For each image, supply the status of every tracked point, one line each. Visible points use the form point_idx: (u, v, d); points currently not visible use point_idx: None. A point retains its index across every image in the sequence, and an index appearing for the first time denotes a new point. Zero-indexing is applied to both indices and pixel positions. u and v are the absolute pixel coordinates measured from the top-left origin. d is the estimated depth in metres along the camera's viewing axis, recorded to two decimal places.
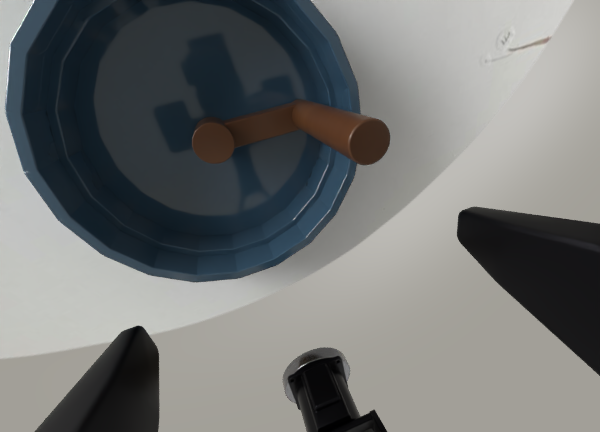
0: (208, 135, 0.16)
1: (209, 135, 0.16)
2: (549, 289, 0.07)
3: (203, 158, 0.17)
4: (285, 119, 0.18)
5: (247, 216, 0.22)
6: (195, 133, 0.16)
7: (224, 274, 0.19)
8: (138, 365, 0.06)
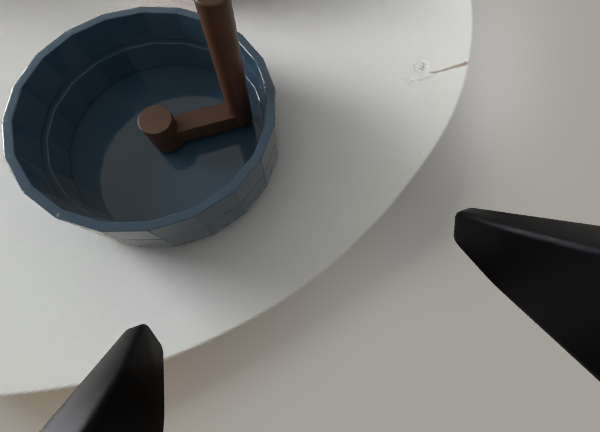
0: (151, 113, 0.21)
1: (152, 113, 0.21)
2: (545, 291, 0.07)
3: (144, 129, 0.20)
4: (221, 110, 0.22)
5: None
6: (141, 112, 0.21)
7: (132, 223, 0.17)
8: (143, 363, 0.06)
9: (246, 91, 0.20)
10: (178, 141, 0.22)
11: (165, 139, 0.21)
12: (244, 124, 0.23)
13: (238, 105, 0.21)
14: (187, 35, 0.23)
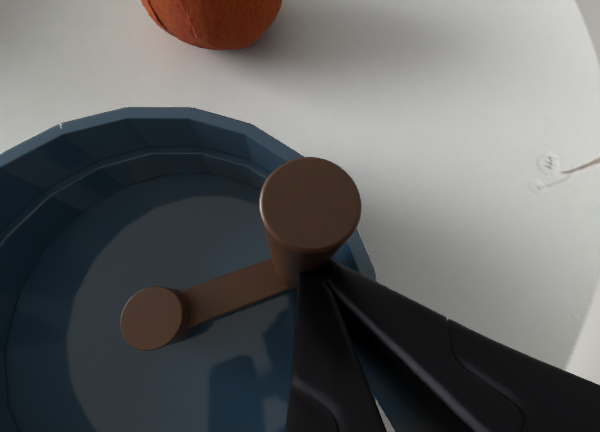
0: (145, 305, 0.11)
1: (146, 305, 0.11)
2: None
3: (132, 342, 0.11)
4: (265, 276, 0.13)
5: None
6: (127, 304, 0.11)
7: None
8: None
9: None
10: (192, 329, 0.13)
11: (170, 344, 0.12)
12: None
13: None
14: (205, 142, 0.14)
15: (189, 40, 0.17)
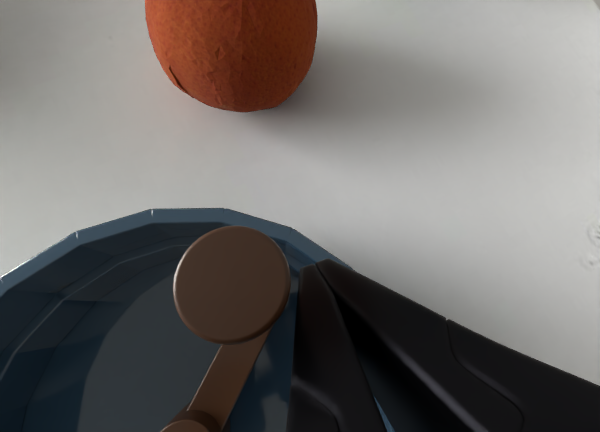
0: None
1: None
2: None
3: None
4: None
5: None
6: None
7: None
8: None
9: None
10: (227, 426, 0.12)
11: None
12: None
13: None
14: None
15: (212, 104, 0.15)
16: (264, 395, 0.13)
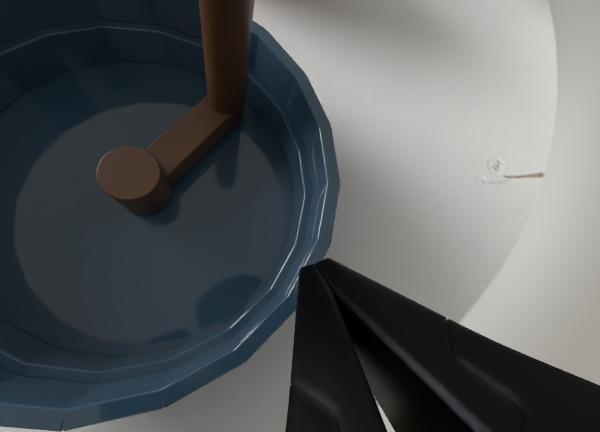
0: (116, 165, 0.12)
1: (117, 165, 0.12)
2: None
3: (125, 196, 0.12)
4: (206, 113, 0.14)
5: (159, 326, 0.13)
6: (97, 171, 0.12)
7: (32, 410, 0.08)
8: None
9: None
10: (169, 187, 0.14)
11: (159, 194, 0.13)
12: (239, 119, 0.16)
13: (239, 95, 0.14)
14: None
15: None
16: (205, 186, 0.15)
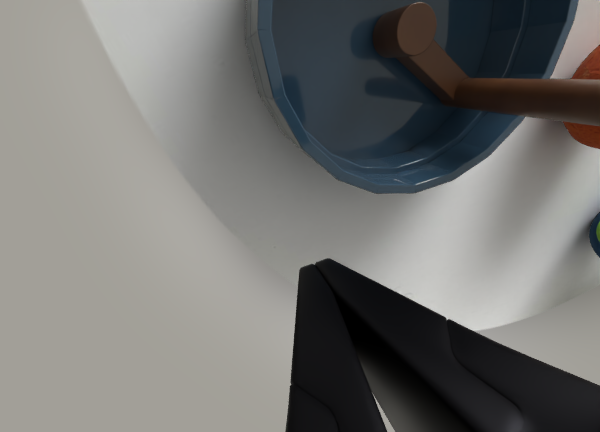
0: (422, 18, 0.15)
1: (422, 19, 0.15)
2: None
3: (399, 30, 0.15)
4: (455, 80, 0.18)
5: (287, 68, 0.17)
6: (417, 3, 0.15)
7: (270, 5, 0.12)
8: None
9: None
10: (396, 57, 0.17)
11: (396, 54, 0.16)
12: (446, 105, 0.20)
13: (472, 107, 0.18)
14: (514, 78, 0.18)
15: (590, 63, 0.20)
16: (392, 84, 0.19)
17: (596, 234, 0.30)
